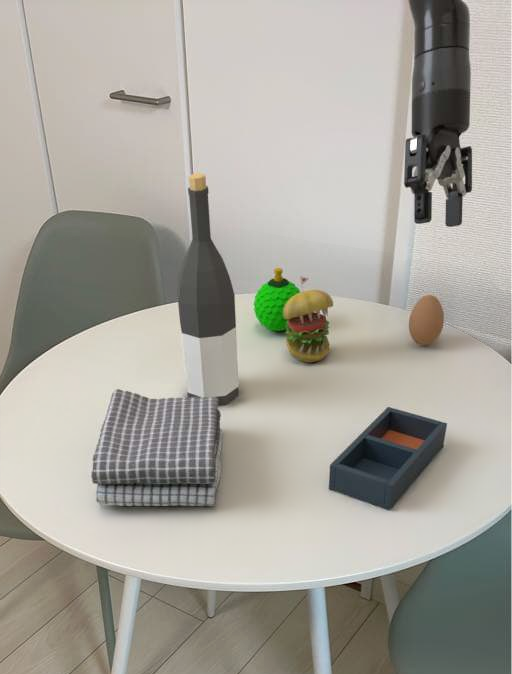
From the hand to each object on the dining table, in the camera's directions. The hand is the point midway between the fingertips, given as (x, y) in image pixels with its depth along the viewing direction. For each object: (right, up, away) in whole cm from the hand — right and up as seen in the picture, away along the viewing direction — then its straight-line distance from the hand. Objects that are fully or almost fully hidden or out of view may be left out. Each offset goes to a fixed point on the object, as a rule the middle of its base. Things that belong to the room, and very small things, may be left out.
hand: (438, 224), depth 105 cm
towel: (-38, -35, -8) cm, 52 cm away
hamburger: (-17, -15, +13) cm, 26 cm away
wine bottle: (-32, -23, +6) cm, 39 cm away
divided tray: (-10, -35, -11) cm, 38 cm away
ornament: (-20, -9, +21) cm, 31 cm away
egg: (+2, -13, +13) cm, 19 cm away
